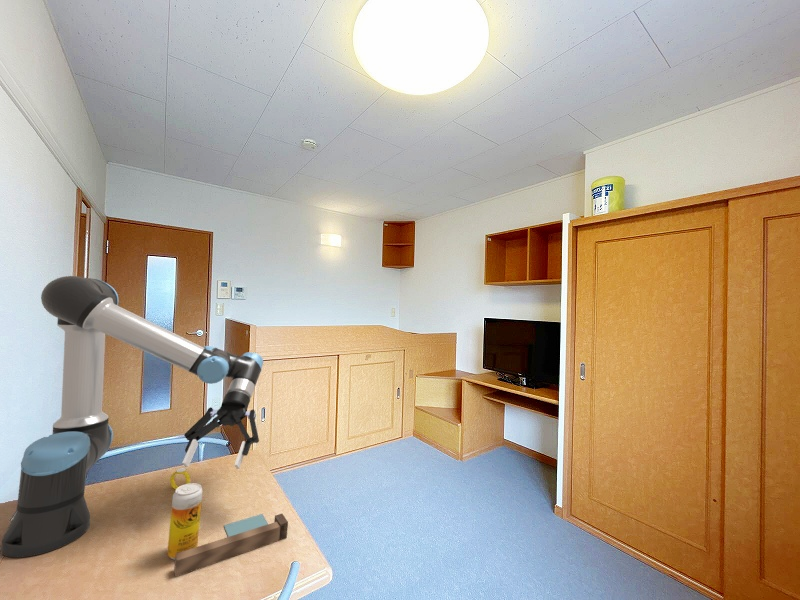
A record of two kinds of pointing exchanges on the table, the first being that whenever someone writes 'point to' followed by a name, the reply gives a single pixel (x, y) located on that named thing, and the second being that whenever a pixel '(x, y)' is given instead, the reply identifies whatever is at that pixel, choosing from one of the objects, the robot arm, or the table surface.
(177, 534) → the orange soda can
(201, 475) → the table surface
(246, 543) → the brown l-shaped hook tool
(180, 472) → the watch
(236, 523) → the pad
